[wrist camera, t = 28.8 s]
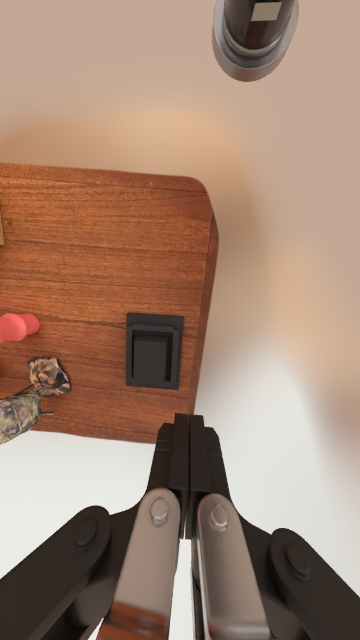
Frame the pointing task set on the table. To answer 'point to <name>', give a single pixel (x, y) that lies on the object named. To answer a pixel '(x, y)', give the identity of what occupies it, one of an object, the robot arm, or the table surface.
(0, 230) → the oak block
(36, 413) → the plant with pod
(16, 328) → the figurine
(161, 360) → the small black block
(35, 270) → the table surface
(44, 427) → the table surface
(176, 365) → the base pad
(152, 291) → the table surface
